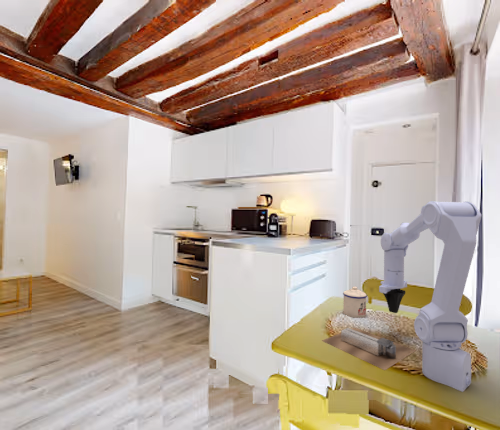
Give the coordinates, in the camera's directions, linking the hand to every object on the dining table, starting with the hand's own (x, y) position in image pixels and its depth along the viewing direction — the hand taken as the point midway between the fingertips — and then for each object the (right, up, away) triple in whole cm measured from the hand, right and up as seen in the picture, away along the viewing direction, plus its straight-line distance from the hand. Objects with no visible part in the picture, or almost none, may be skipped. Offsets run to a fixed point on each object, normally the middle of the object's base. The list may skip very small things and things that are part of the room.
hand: (393, 312), depth 87 cm
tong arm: (-11, -8, -7) cm, 15 cm away
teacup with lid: (-3, -10, +24) cm, 26 cm away
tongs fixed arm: (-12, -8, -7) cm, 16 cm away
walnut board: (-11, -9, -6) cm, 15 cm away
